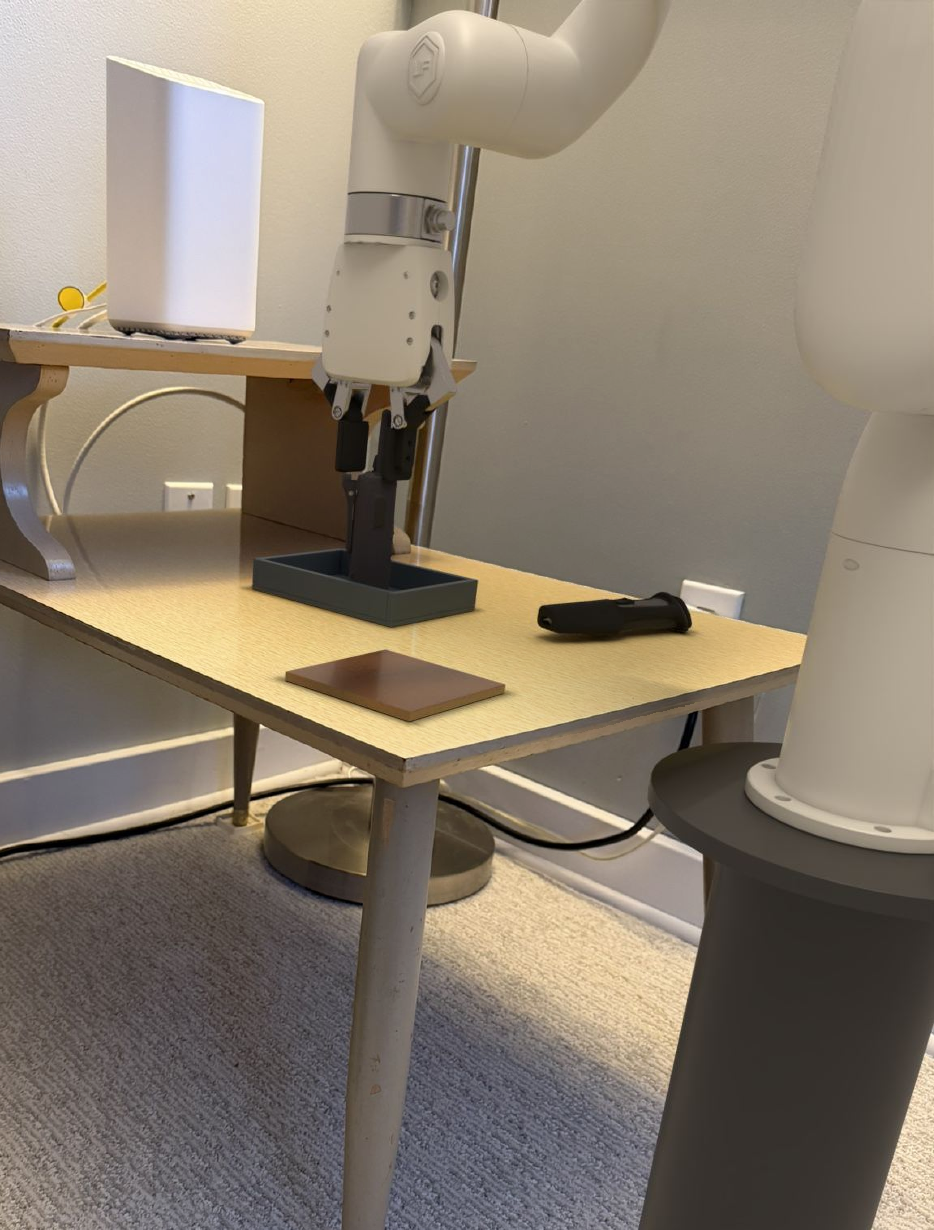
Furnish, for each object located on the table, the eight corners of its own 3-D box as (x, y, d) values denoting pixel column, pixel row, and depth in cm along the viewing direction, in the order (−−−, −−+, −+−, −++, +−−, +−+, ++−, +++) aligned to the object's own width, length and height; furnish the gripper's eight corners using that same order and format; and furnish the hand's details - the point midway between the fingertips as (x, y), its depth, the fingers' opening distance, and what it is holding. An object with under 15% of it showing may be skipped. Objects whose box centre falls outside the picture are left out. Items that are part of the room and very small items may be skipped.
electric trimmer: (521, 637, 90) (526, 597, 89) (660, 622, 99) (666, 585, 97) (554, 650, 87) (560, 608, 86) (694, 633, 96) (701, 595, 95)
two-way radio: (390, 602, 95) (407, 411, 90) (337, 599, 95) (350, 407, 90) (384, 588, 100) (399, 407, 95) (332, 585, 100) (345, 403, 95)
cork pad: (504, 693, 75) (505, 684, 74) (408, 721, 67) (409, 712, 67) (384, 657, 81) (385, 649, 80) (284, 680, 73) (285, 671, 73)
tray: (474, 610, 97) (478, 579, 96) (391, 627, 89) (394, 593, 88) (338, 576, 106) (341, 547, 105) (251, 588, 98) (253, 558, 97)
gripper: (515, 235, 85) (484, 489, 92) (343, 231, 95) (326, 460, 102) (455, 222, 80) (426, 493, 86) (279, 219, 90) (266, 462, 96)
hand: (372, 473), depth 94 cm, fingers closed on two-way radio, 4 cm apart
